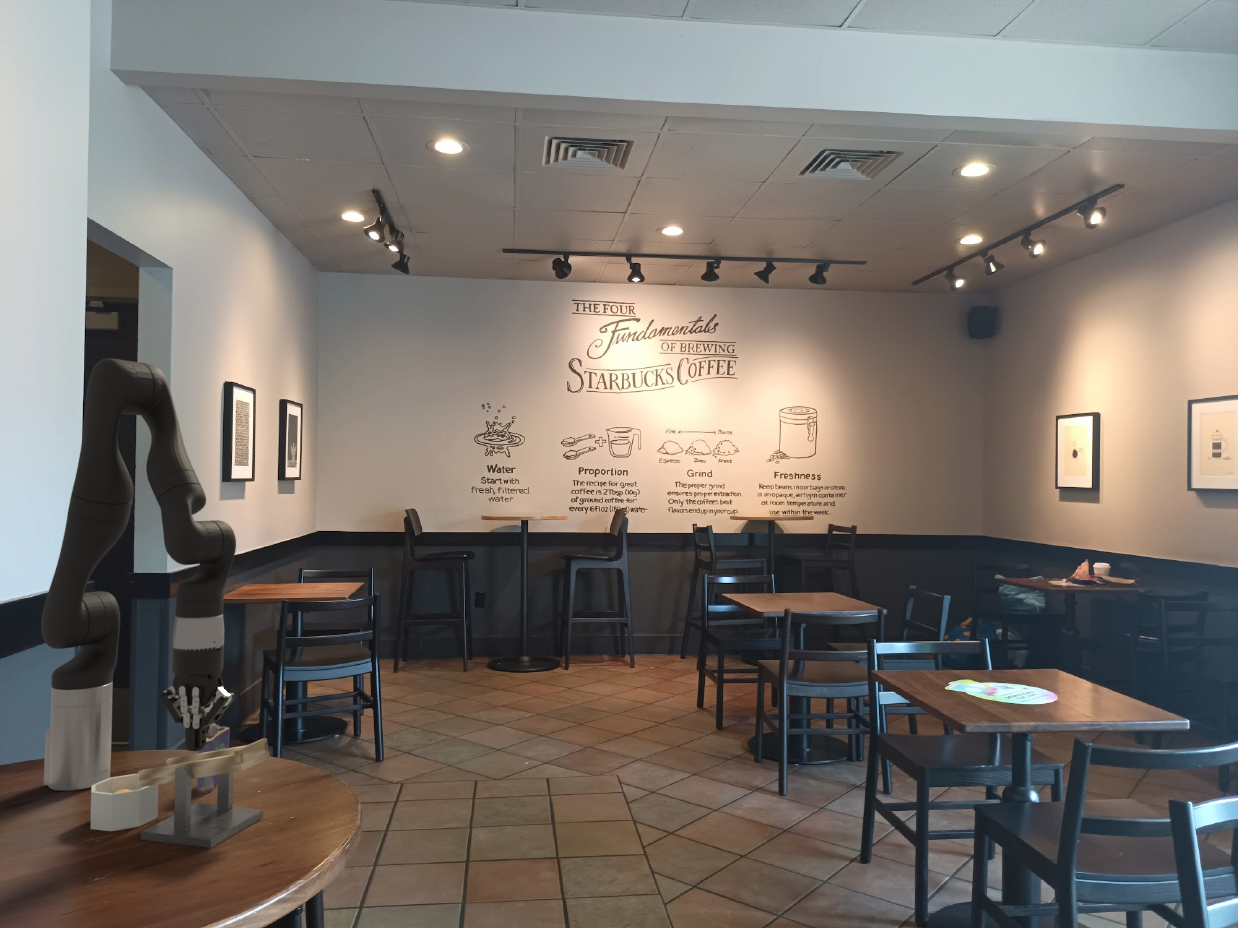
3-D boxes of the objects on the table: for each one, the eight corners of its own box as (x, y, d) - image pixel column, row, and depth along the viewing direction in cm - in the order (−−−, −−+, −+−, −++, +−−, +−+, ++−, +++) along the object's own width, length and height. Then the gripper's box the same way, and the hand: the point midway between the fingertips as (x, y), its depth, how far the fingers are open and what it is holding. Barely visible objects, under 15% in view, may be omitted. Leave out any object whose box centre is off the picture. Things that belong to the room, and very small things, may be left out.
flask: (209, 793, 147) (210, 730, 147) (191, 794, 146) (192, 730, 147) (231, 776, 156) (232, 716, 156) (215, 776, 156) (216, 716, 156)
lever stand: (140, 839, 127) (142, 767, 128) (197, 810, 139) (199, 744, 139) (210, 847, 125) (212, 774, 125) (263, 817, 136) (264, 749, 137)
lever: (138, 788, 130) (134, 768, 131) (201, 761, 144) (198, 742, 144) (240, 772, 126) (236, 751, 127) (295, 745, 140) (292, 726, 140)
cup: (76, 827, 132) (77, 790, 132) (122, 805, 141) (123, 772, 141) (125, 832, 130) (126, 796, 130) (170, 811, 139) (170, 776, 139)
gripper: (146, 644, 138) (143, 753, 138) (218, 649, 135) (215, 760, 135) (180, 636, 146) (177, 739, 145) (249, 641, 143) (246, 746, 142)
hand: (195, 749), depth 140 cm, fingers closed
